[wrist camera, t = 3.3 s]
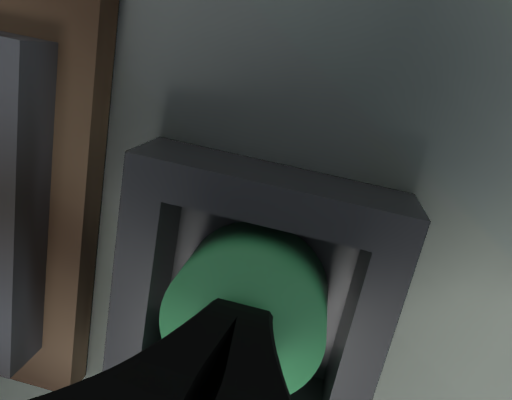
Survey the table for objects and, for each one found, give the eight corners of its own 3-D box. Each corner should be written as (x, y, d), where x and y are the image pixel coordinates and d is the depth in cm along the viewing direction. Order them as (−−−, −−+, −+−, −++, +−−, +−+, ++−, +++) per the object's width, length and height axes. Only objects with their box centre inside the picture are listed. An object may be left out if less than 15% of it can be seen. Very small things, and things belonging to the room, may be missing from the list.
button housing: (348, 408, 14) (350, 466, 12) (132, 349, 15) (100, 395, 13) (414, 194, 12) (430, 221, 10) (159, 137, 13) (125, 151, 11)
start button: (310, 366, 14) (305, 422, 11) (177, 331, 14) (149, 378, 12) (343, 240, 12) (345, 277, 10) (197, 206, 13) (170, 234, 11)
